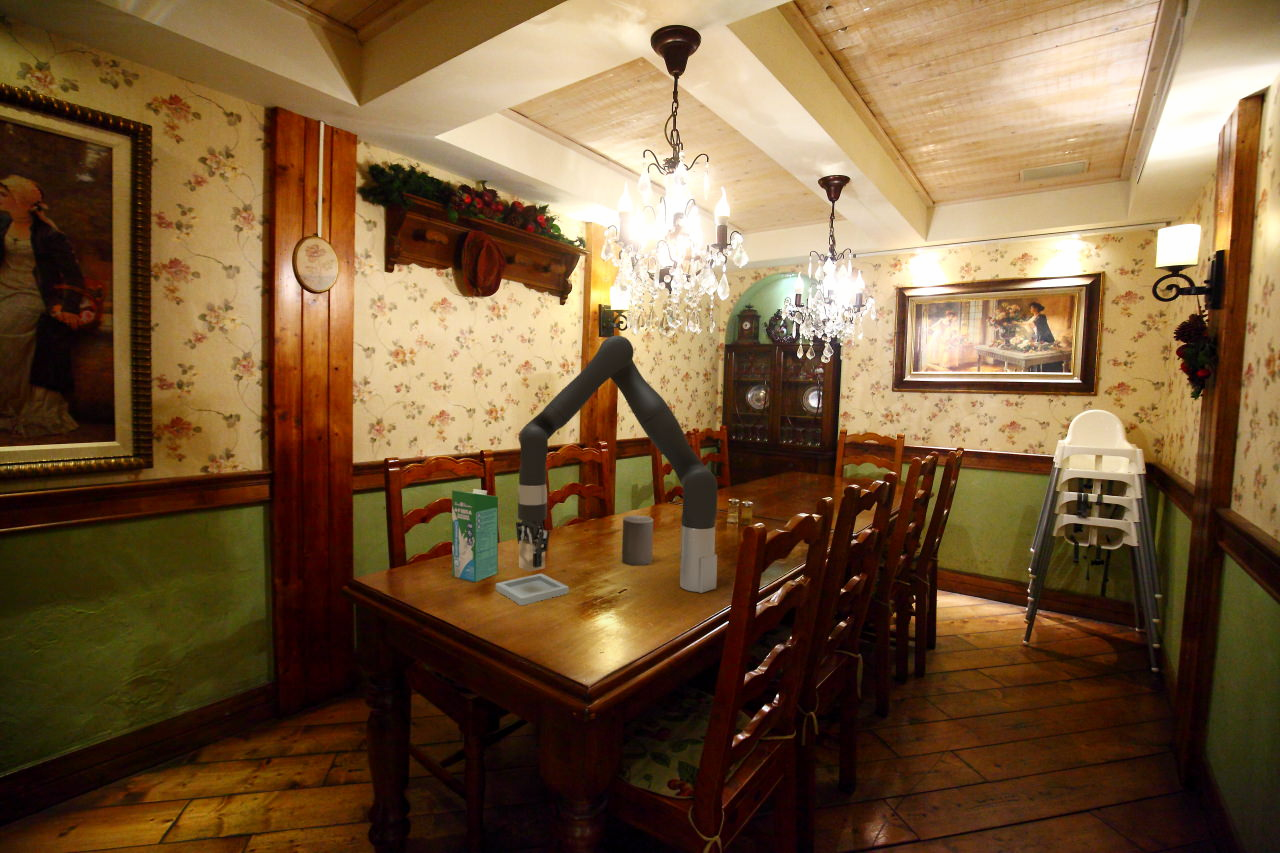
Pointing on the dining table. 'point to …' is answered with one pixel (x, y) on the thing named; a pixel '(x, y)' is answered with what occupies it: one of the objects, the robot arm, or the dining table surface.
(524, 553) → the maple block
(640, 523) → the pillar candle
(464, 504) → the milk carton
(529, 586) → the tray
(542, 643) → the dining table surface
